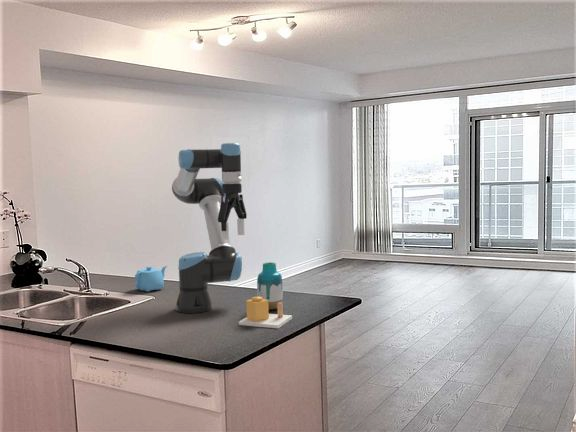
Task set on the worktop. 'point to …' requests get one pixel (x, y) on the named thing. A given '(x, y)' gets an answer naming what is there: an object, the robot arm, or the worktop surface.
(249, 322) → the plate
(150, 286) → the teapot
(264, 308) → the yellow toy brick
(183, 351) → the worktop surface
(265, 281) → the vase
